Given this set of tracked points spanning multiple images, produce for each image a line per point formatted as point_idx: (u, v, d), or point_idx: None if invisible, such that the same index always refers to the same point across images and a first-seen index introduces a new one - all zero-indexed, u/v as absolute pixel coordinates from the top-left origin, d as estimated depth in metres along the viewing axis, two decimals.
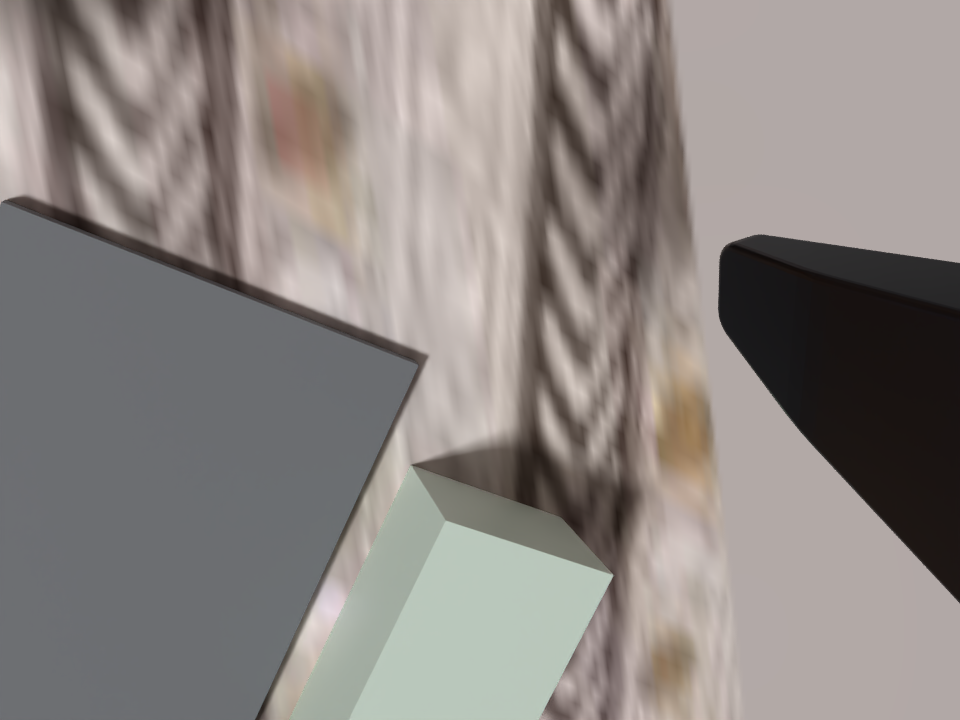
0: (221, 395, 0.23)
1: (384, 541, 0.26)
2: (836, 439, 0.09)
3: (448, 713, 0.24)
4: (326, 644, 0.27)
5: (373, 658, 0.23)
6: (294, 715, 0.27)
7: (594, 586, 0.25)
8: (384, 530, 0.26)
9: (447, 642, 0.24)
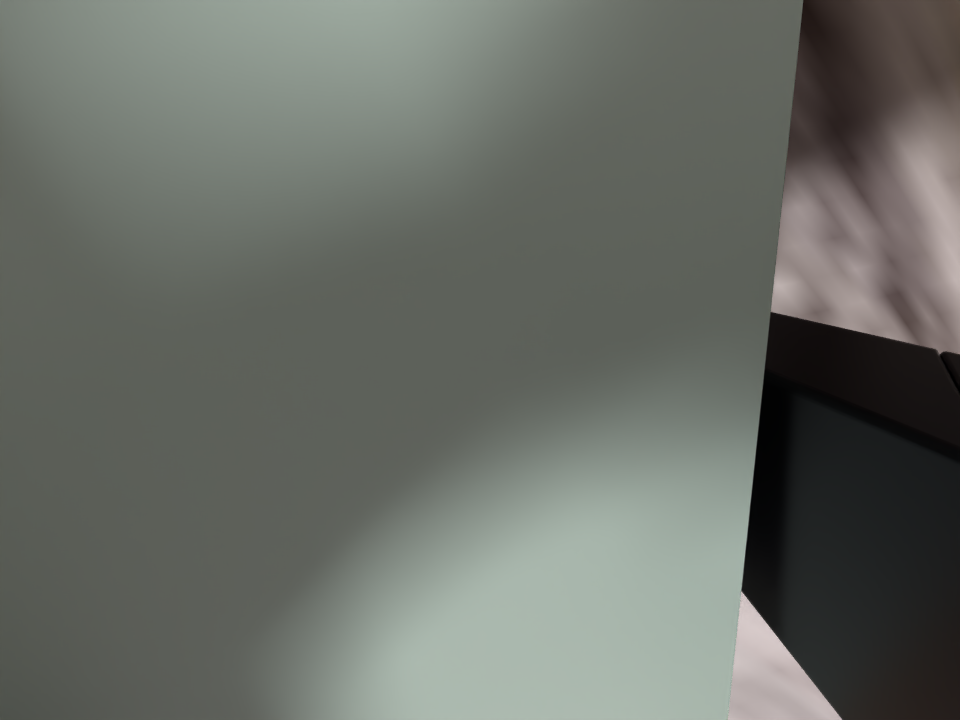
0: None
1: None
2: None
3: (421, 701, 0.07)
4: None
5: None
6: None
7: None
8: None
9: (218, 556, 0.05)
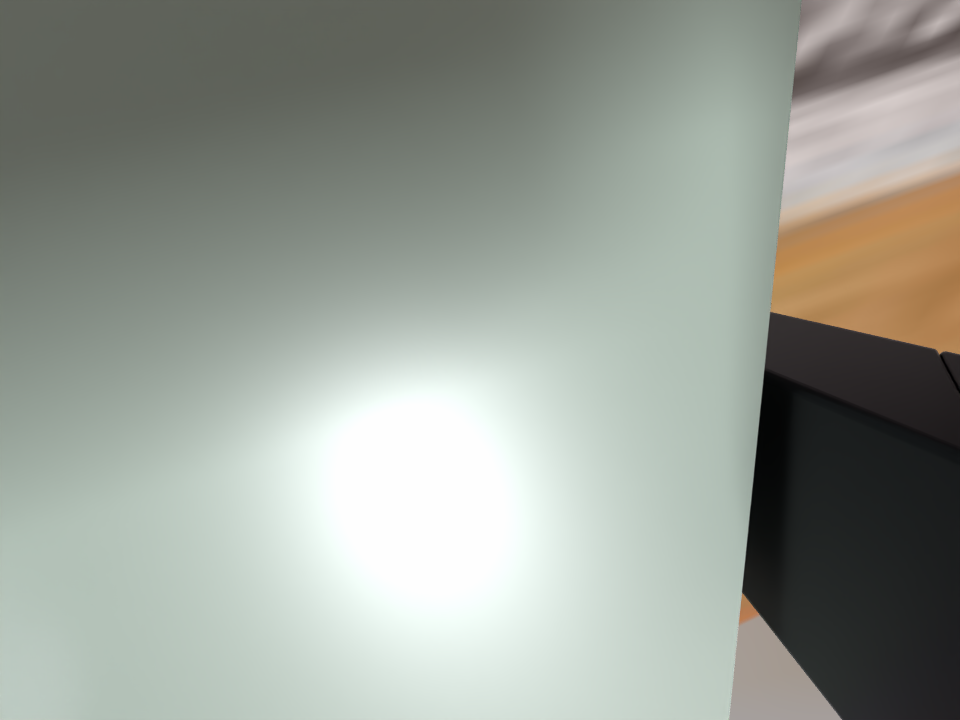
0: None
1: None
2: None
3: (421, 698, 0.07)
4: None
5: None
6: None
7: None
8: None
9: (217, 550, 0.05)
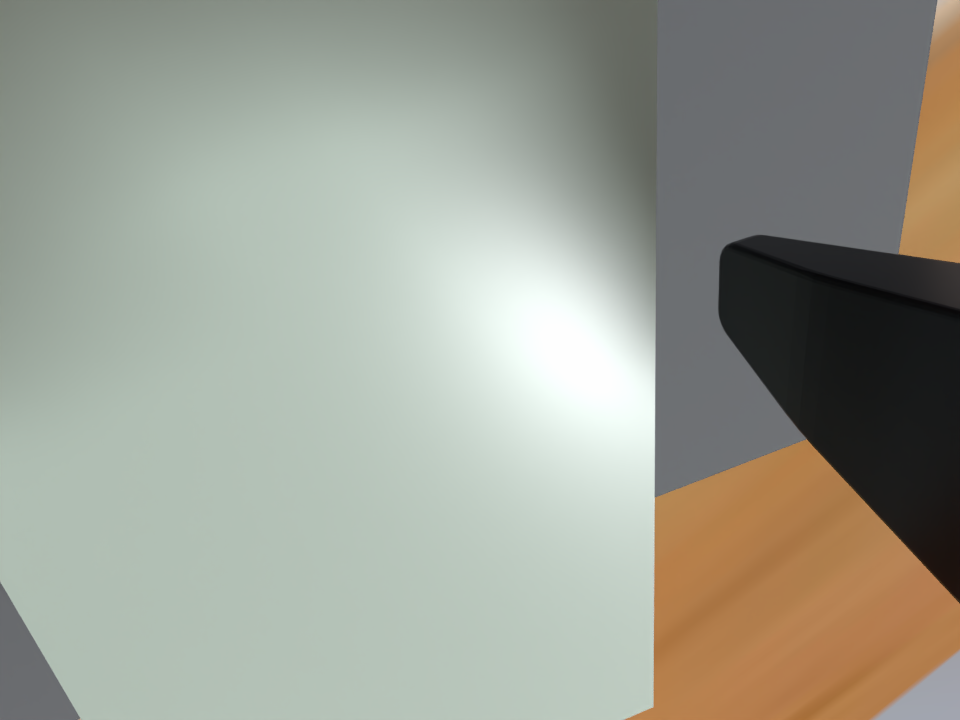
0: None
1: None
2: (836, 439, 0.09)
3: (373, 568, 0.08)
4: None
5: (15, 579, 0.07)
6: None
7: None
8: None
9: (192, 425, 0.06)
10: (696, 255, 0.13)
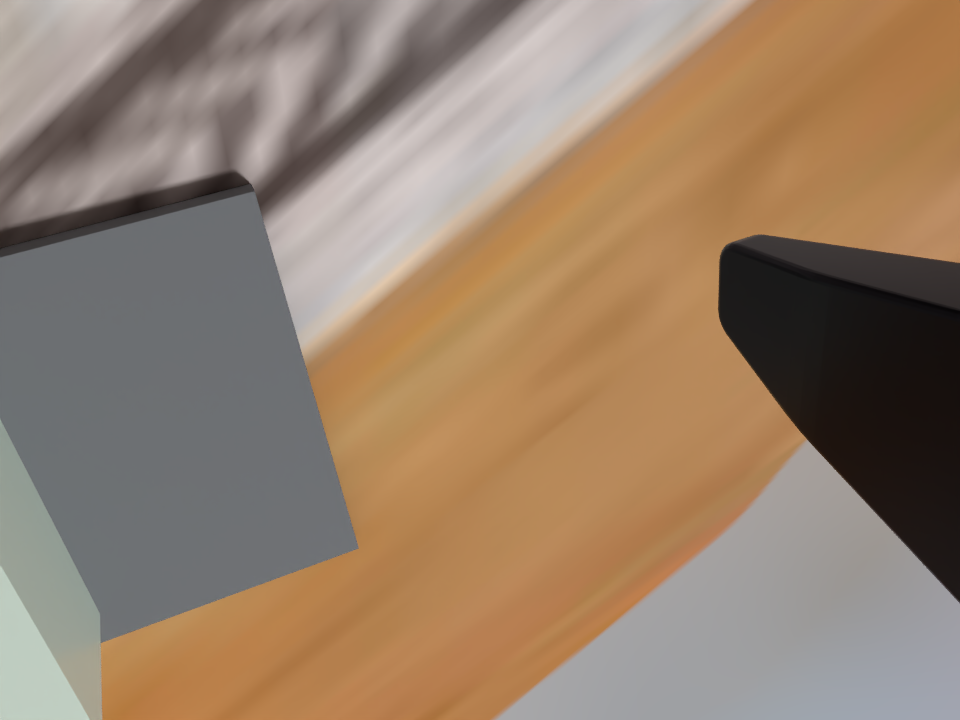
0: None
1: None
2: (836, 439, 0.09)
3: None
4: None
5: None
6: None
7: None
8: None
9: None
10: (178, 478, 0.22)
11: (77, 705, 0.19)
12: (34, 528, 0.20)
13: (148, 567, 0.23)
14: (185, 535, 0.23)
